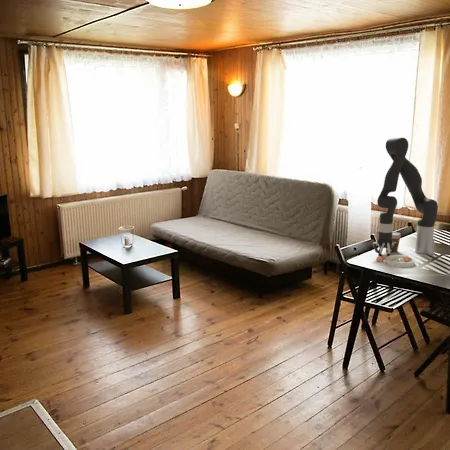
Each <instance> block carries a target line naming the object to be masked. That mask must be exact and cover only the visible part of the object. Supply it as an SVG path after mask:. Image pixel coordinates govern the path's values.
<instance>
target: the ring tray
mask: <svg viewBox="0 0 450 450" xmlns="http://www.w3.org/2000/svg"><path fill="white" fill-rule="evenodd" d="M404 256H405V255H401V254H392V255H391V254H390V256H387V257H386V259H385V263H386V264H387V265H389V266H392V267H398V268H410V267H413V266H415V258H413V257H411V256H408V257H409V261H408V262H404V261H403V257H404Z"/></svg>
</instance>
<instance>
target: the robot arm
mask: <svg viewBox="0 0 450 450" xmlns="http://www.w3.org/2000/svg"><path fill="white" fill-rule="evenodd" d="M385 150H386V152H387V154H388V155H389V157H390V159H392V161H393V162H392V164H391V165H390V167H389V169H388V170H387V172H386V174H385V176H384V181H383V186H382V189H381V192H380V193H379V194H378V197H377V201H376V202H377V203H376V204H377V205H378V207H379V208H383V209H387V210H386V211H383V212H380V214H379V223H378V232H377V233H378V235H377V241H375V242H374V241H373V242H372V246H373V250H374V252H375V253H377V254H378V255H377V257H378V256H381V257H382V254H383V250H384V249H385V250H386V249H387V252H386V255H387V256H391V254H392V253H393V252H394V250H395V248H396V246H397V243H396V242H393V241H392V232H394V231H393V229H394V228H393V226H394V225H393V224H394V223H393V222H394V219H393V218H394V214H395V211H396V208H397V205H398V199H397V198H396V197H395V196H392V195H389V194H390V193H395V192H396V191H397V189H398V188H397V186H398V182H399V176H401V179H402V180H403V182H404V184H405V186H406V187H407V191H408V192H409V194H410V196H411V198H412V201H413V203H414V207H415V209H416V210H417V211H418V212H419V213H420V214H422V218H420V219H418V220H417V225H416V226H417V227H416V239H415V251H414V252H415V253H417V254H421V255H432V256H433V255H434V248H435V238H434V232H435V224H436V222H437V218H438V209H439V207H438V205H439V204H438V203H437V201H436V200H435V199H432V198H428V197H427V196H426V194H425V192H424V191H423V189H422V186H423V181H422V176H421V174H420V172H419V169H418V168H417V167H416V166H415V165H414V164H413V163H412V162H411V161H410V160H409V159H408V158H407V157H406V156H407V154H408V150H409V141H408V139H407V138H405V137H402V136H401V137H391V138H389V139H387V141H386V142H385ZM391 244H392V247H391V250H390V245H391ZM377 246H379V247H377ZM393 254H394V253H393Z"/></svg>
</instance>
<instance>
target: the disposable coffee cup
mask: <svg viewBox="0 0 450 450" xmlns="http://www.w3.org/2000/svg"><path fill="white" fill-rule="evenodd" d="M401 237H402V235H401V233H400V232H398V231H393V232H392V241H393V242H396V243H397V246H396V248H395V250H394V252H393V254H395V253H398V249H399V244H400V240H401ZM391 247H392V244H391V245H390V250H391ZM385 252H386V253H387V249H386V248H385Z"/></svg>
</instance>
